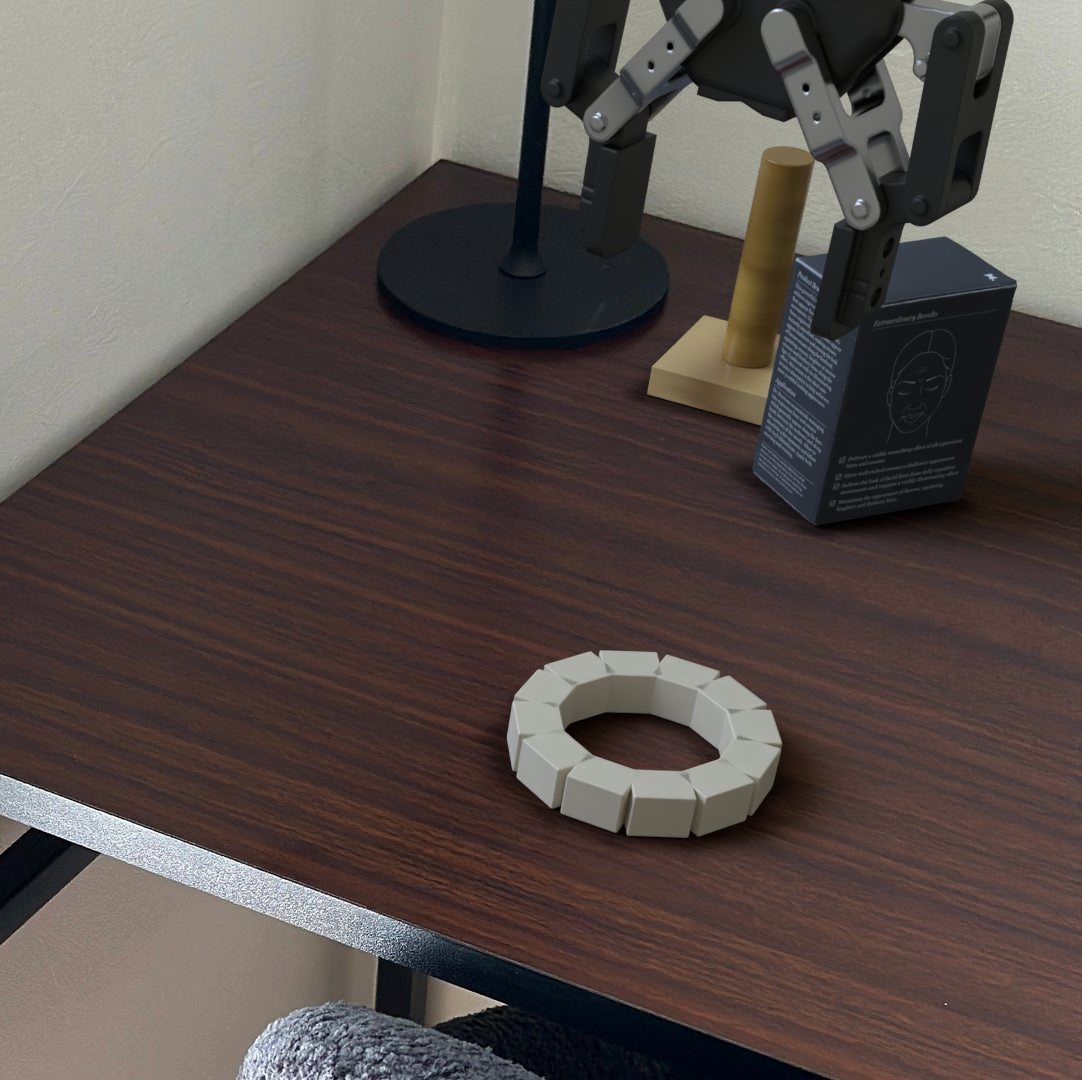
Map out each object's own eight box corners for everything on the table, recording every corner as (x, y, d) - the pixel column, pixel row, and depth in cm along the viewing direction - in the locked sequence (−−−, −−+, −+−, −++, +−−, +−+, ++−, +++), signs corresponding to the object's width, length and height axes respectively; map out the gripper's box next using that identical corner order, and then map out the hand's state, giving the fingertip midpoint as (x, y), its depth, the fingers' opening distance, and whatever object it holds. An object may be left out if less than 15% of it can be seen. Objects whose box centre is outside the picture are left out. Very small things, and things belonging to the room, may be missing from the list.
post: (832, 377, 117) (886, 148, 110) (784, 432, 112) (838, 197, 105) (698, 342, 120) (743, 116, 112) (646, 394, 115) (689, 162, 108)
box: (891, 448, 111) (947, 231, 105) (961, 505, 107) (1024, 283, 100) (745, 471, 109) (793, 251, 102) (811, 530, 105) (865, 305, 98)
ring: (806, 739, 93) (816, 701, 91) (715, 869, 86) (724, 829, 85) (570, 662, 96) (576, 624, 95) (466, 780, 90) (471, 742, 89)
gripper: (1131, -233, 64) (975, 325, 75) (689, -325, 72) (603, 195, 82) (999, -185, 60) (853, 399, 71) (544, -288, 68) (473, 255, 78)
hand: (719, 289), depth 76 cm, fingers open, 8 cm apart
